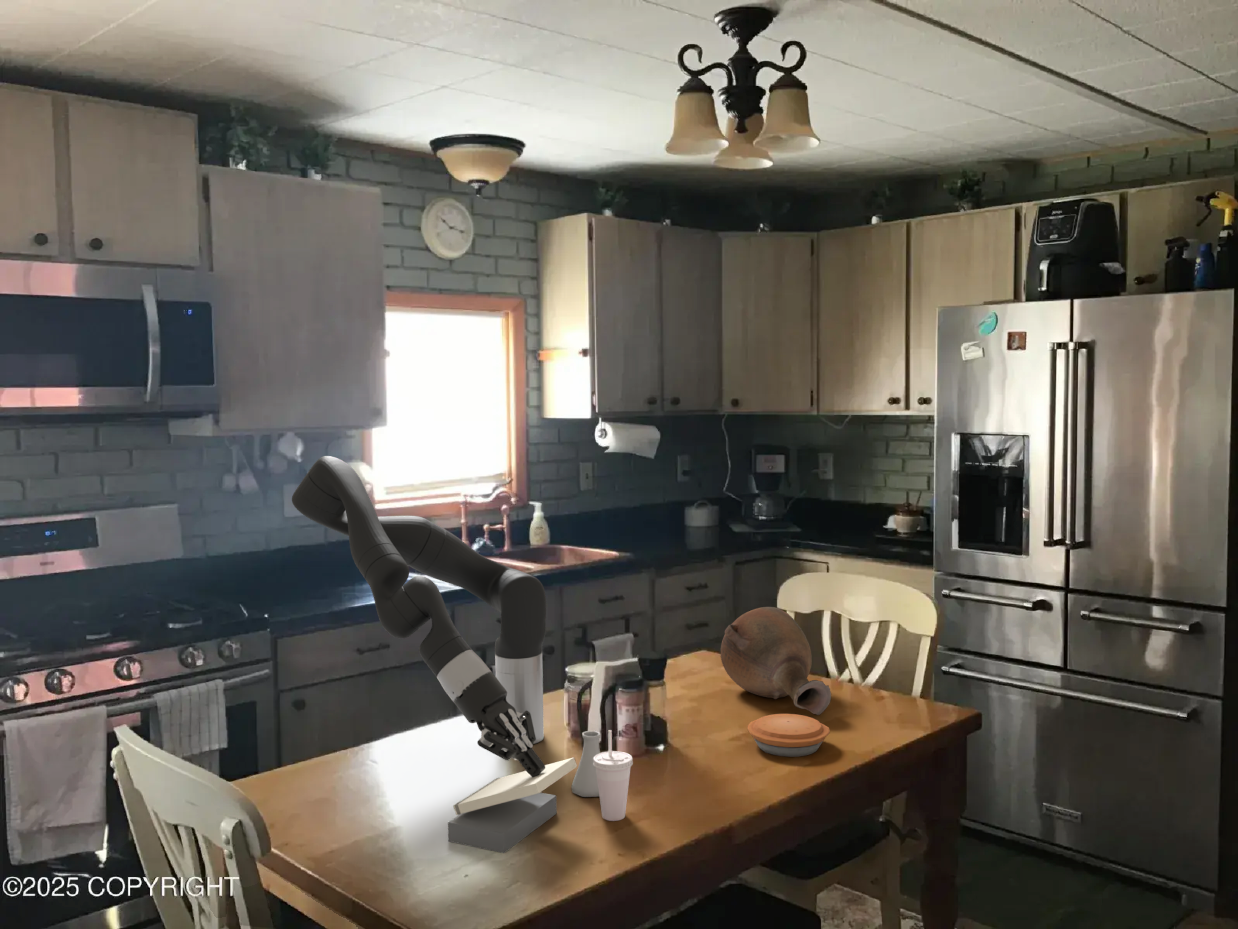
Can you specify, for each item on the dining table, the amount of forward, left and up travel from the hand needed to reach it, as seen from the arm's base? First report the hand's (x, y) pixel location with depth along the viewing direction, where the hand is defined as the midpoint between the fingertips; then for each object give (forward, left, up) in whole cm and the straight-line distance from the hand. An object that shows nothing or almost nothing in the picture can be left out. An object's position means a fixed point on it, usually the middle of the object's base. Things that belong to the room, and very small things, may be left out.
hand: (539, 773), depth 162 cm
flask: (-19, +4, -10) cm, 22 cm away
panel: (-3, -11, -6) cm, 13 cm away
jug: (-76, +32, -10) cm, 83 cm away
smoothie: (-9, +10, -10) cm, 17 cm away
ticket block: (-2, -7, -10) cm, 12 cm away
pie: (-47, +36, -10) cm, 60 cm away
